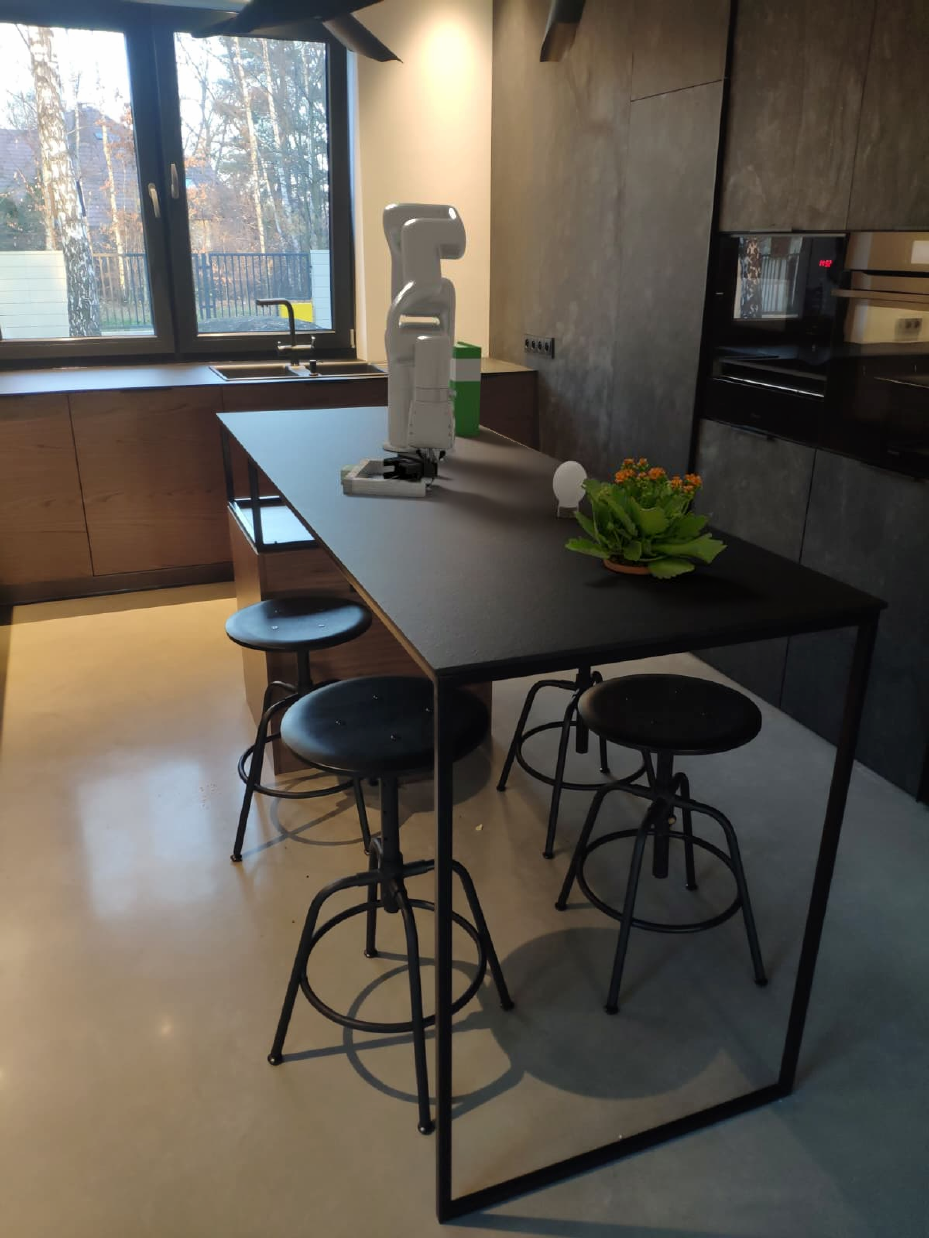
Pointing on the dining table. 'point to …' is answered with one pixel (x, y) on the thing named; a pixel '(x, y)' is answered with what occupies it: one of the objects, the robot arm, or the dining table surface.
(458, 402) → the green white box
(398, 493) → the mounting bracket
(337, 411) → the dining table surface
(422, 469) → the end cap
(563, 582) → the dining table surface
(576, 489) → the light bulb
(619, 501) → the potted flower
